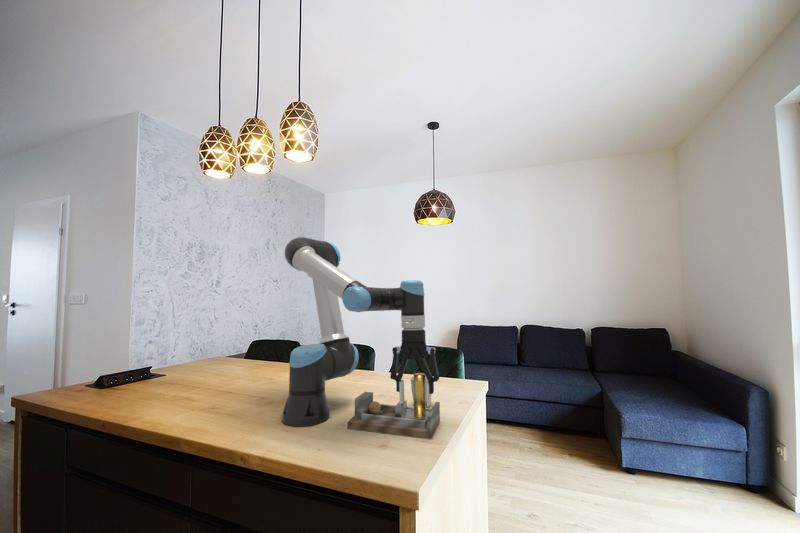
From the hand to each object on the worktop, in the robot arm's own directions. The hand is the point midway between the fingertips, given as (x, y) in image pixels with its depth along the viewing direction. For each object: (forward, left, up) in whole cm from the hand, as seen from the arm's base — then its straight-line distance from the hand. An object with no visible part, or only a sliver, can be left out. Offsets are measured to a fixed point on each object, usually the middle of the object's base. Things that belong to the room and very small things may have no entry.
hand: (415, 403), depth 98 cm
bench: (-7, 0, -7) cm, 10 cm away
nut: (-14, 0, -5) cm, 14 cm away
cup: (-3, +20, -7) cm, 21 cm away
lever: (-1, 0, -5) cm, 5 cm away
